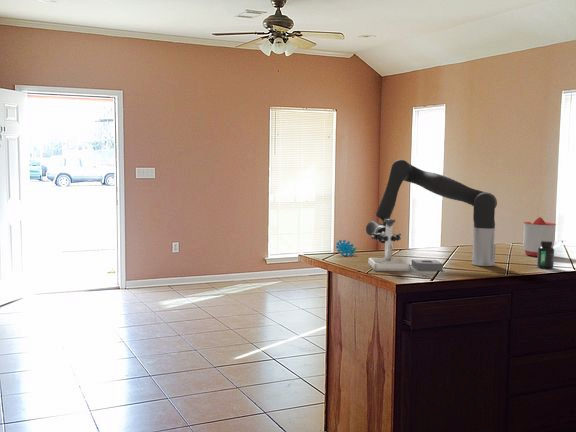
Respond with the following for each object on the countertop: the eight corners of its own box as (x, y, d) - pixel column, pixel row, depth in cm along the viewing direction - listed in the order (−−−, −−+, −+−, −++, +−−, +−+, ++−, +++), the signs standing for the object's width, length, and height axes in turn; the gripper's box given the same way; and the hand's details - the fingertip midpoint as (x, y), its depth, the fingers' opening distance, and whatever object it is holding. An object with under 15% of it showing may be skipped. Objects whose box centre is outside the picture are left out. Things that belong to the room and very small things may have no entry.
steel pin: (392, 259, 273) (394, 219, 271) (394, 261, 268) (396, 220, 266) (381, 259, 273) (383, 218, 271) (383, 261, 268) (385, 219, 266)
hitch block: (435, 266, 277) (436, 259, 276) (442, 270, 266) (442, 263, 266) (411, 266, 276) (411, 259, 276) (417, 270, 265) (417, 263, 265)
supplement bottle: (543, 269, 276) (545, 242, 275) (533, 266, 282) (535, 240, 281) (556, 268, 278) (558, 242, 277) (546, 266, 284) (547, 240, 283)
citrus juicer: (547, 253, 328) (549, 216, 326) (558, 258, 311) (560, 218, 309) (517, 252, 330) (519, 215, 328) (526, 257, 312) (528, 217, 311)
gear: (337, 253, 299) (335, 237, 306) (333, 260, 303) (331, 244, 310) (359, 256, 302) (356, 240, 309) (354, 263, 306) (352, 247, 313)
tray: (401, 264, 279) (401, 258, 279) (409, 271, 262) (409, 264, 262) (368, 264, 279) (368, 257, 279) (374, 270, 262) (374, 263, 262)
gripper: (368, 225, 283) (374, 229, 266) (398, 226, 284) (406, 230, 266) (367, 241, 284) (373, 247, 267) (397, 242, 284) (406, 247, 267)
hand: (390, 238), depth 267 cm, fingers closed on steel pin, 3 cm apart
